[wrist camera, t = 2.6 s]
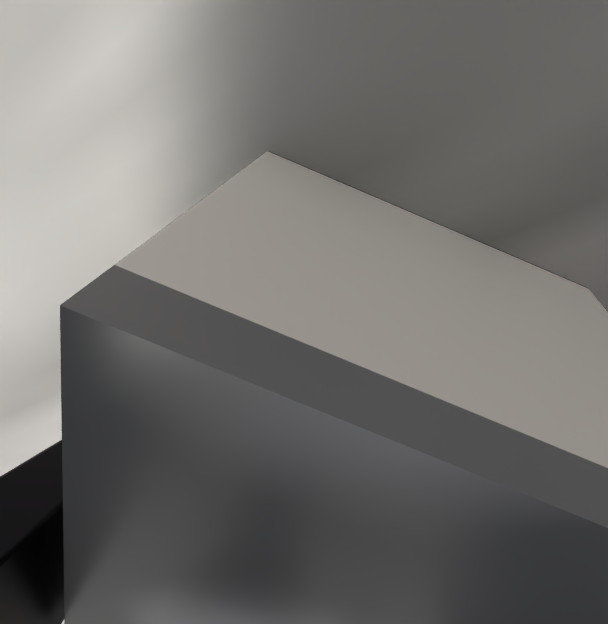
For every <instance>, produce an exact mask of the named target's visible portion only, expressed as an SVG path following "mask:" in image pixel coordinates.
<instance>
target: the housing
mask: <svg viewBox="0 0 608 624" xmlns="http://www.w3.org/2000/svg"><path fill="white" fill-rule="evenodd" d="M60 330H61V402H62V474H63V546H64V618H65V624H608V312H607V311H606V309H605V308H604V307H603V306H602V305H601V303H600V302H599V301H598V300H597V298H596V297H595V296H594V295H593V294H592V292H591V291H590V290H589V289H588V288H586V287H583V286H581V285H579V284H576V283H574V282H572V281H569V280H567V279H565V278H562V277H560V276H558V275H555V274H553V273H551V272H548V271H546V270H544V269H541V268H539V267H537V266H534V265H532V264H530V263H527V262H525V261H523V260H520V259H518V258H516V257H513V256H511V255H509V254H506V253H504V252H502V251H499V250H497V249H495V248H492V247H490V246H488V245H485V244H483V243H481V242H478V241H476V240H474V239H471V238H469V237H467V236H464V235H462V234H460V233H457V232H455V231H453V230H450V229H448V228H446V227H443V226H441V225H439V224H436V223H434V222H432V221H429V220H427V219H425V218H422V217H420V216H418V215H415V214H413V213H411V212H408V211H406V210H404V209H401V208H399V207H397V206H394V205H392V204H390V203H387V202H385V201H383V200H380V199H378V198H376V197H373V196H371V195H369V194H366V193H364V192H362V191H359V190H357V189H355V188H352V187H350V186H348V185H345V184H343V183H341V182H338V181H336V180H334V179H331V178H329V177H327V176H324V175H322V174H320V173H317V172H315V171H313V170H310V169H308V168H306V167H303V166H301V165H299V164H296V163H294V162H292V161H289V160H287V159H285V158H282V157H280V156H278V155H275V154H273V153H271V152H268V151H267V152H265V153H264V154H263V155H261V156H260V157H259V158H257V159H256V160H255V161H253V162H252V163H251V164H249V165H248V166H246V167H245V168H244V169H242V170H241V171H240V172H238V173H237V174H236V175H234V176H233V177H232V178H230V179H229V180H228V181H226V182H225V183H224V184H222V185H221V186H220V187H218V188H217V189H216V190H214V191H213V192H212V193H210V194H209V195H208V196H206V197H205V198H204V199H202V200H201V201H200V202H198V203H197V204H196V205H194V206H193V207H191V208H190V209H189V210H187V211H186V212H185V213H183V214H182V215H181V216H179V217H178V218H177V219H175V220H174V221H173V222H171V223H170V224H169V225H167V226H166V227H165V228H163V229H162V230H161V231H159V232H158V233H157V234H155V235H154V236H153V237H151V238H150V239H149V240H147V241H146V242H145V243H143V244H142V245H141V246H139V247H138V248H136V249H135V250H134V251H132V252H131V253H130V254H128V255H127V256H126V257H124V258H123V259H122V260H120V261H119V262H118V263H116V264H115V265H114V266H112V267H111V268H110V269H108V270H107V271H106V272H104V273H103V274H102V275H100V276H99V277H98V278H96V279H95V280H94V281H92V282H91V283H90V284H88V285H87V286H86V287H84V288H83V289H81V290H80V291H79V292H77V293H76V294H75V295H73V296H72V297H71V298H69V299H68V300H67V301H65V302H64V303H63V304H61V305H60Z"/></svg>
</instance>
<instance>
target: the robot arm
mask: <svg viewBox="0 0 608 624" xmlns="http://www.w3.org/2000/svg"><path fill="white" fill-rule="evenodd" d="M63 620H64V546H63V474H62V440H60V441H59V442H57V443H55V444H54V445H52V446H50V447H49V448H47V449H45V450H44V451H42V452H40V453H39V454H37V455H35V456H34V457H32V458H30V459H29V460H27V461H25V462H24V463H22V464H20V465H19V466H17V467H15V468H14V469H12V470H10V471H9V472H7V473H5V474H4V475H2V476H0V624H61V623H62V621H63Z"/></svg>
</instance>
